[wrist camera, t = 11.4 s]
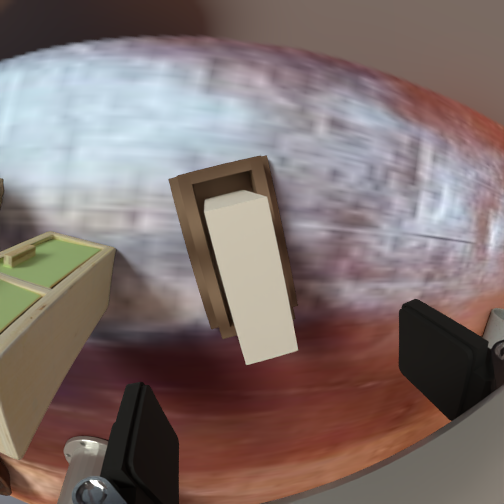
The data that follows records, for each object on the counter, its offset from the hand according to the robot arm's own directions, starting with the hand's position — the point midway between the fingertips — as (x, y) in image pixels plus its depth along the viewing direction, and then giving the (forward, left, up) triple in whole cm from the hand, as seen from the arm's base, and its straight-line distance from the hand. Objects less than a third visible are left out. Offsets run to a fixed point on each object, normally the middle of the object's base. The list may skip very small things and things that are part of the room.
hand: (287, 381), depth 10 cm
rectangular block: (0, 0, -19) cm, 19 cm away
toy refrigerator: (+2, +16, -21) cm, 26 cm away
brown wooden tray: (0, 0, -20) cm, 20 cm away
